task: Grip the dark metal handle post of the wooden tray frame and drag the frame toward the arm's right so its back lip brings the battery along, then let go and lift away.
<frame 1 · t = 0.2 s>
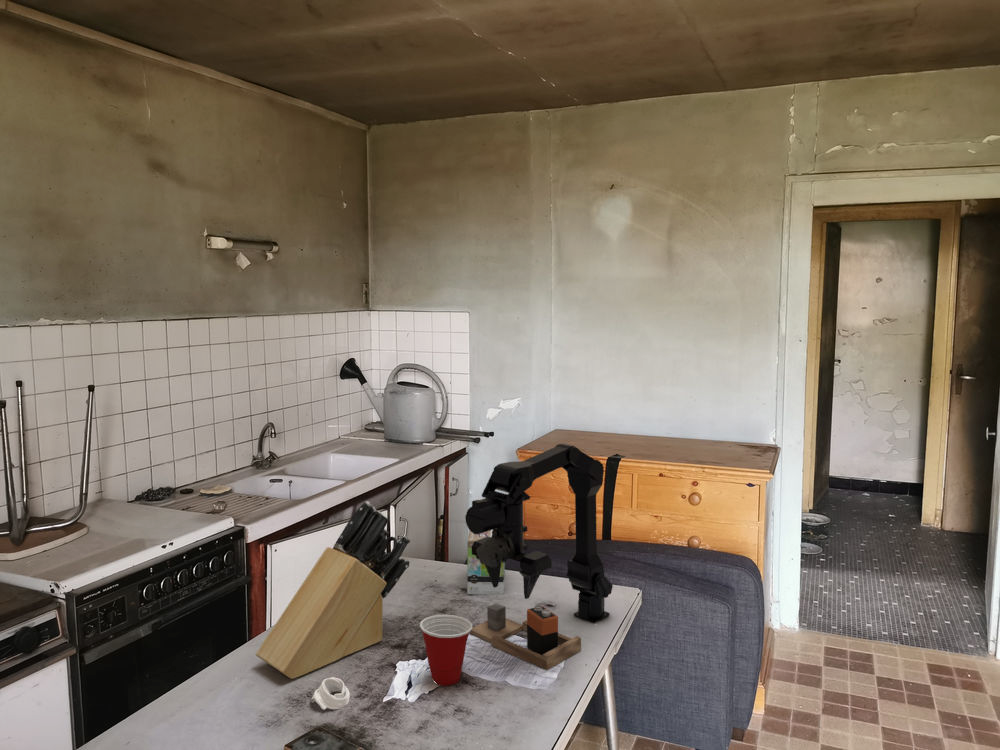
hand: (511, 592, 165), 14 cm above the table, fingers open, 9 cm apart
wooden tray frame: (522, 629, 171), point 3 cm above the table, slide at 0.0 cm
knife block: (339, 648, 170), on the table
white plastic ring: (332, 703, 148), on the table
tea box: (486, 585, 206), on the table
battery: (542, 652, 167), resting in wooden tray frame
plastic cup: (447, 679, 156), on the table
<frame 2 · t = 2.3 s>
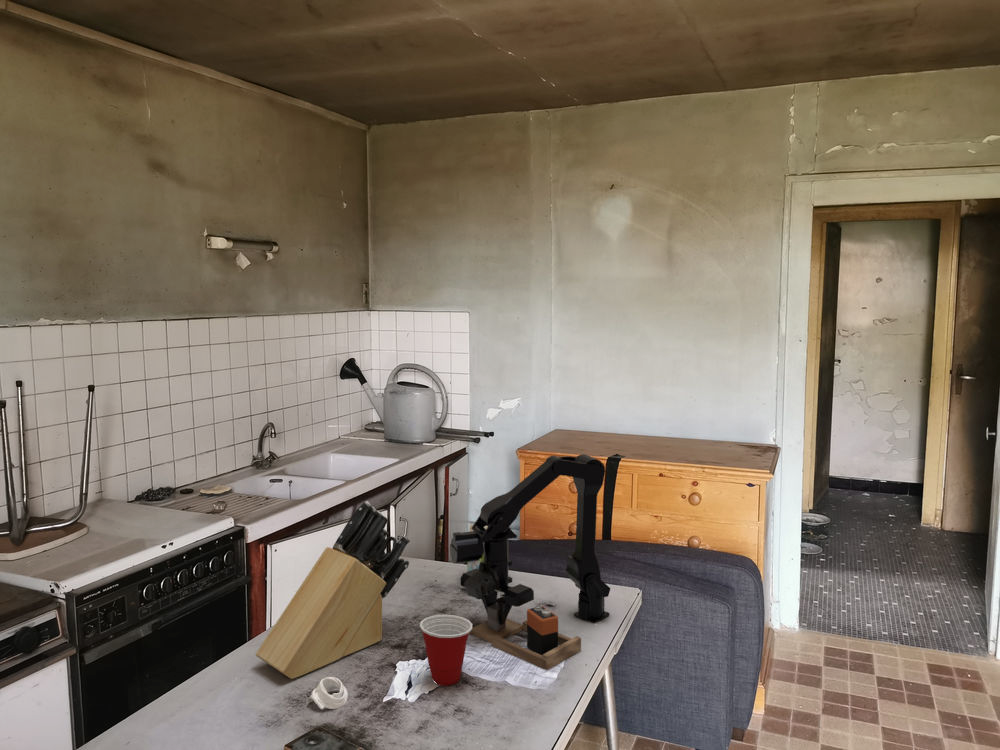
hand: (496, 622, 177), 3 cm above the table, fingers closed on wooden tray frame, 3 cm apart
wooden tray frame: (522, 629, 171), point 3 cm above the table, slide at 0.0 cm, touching gripper
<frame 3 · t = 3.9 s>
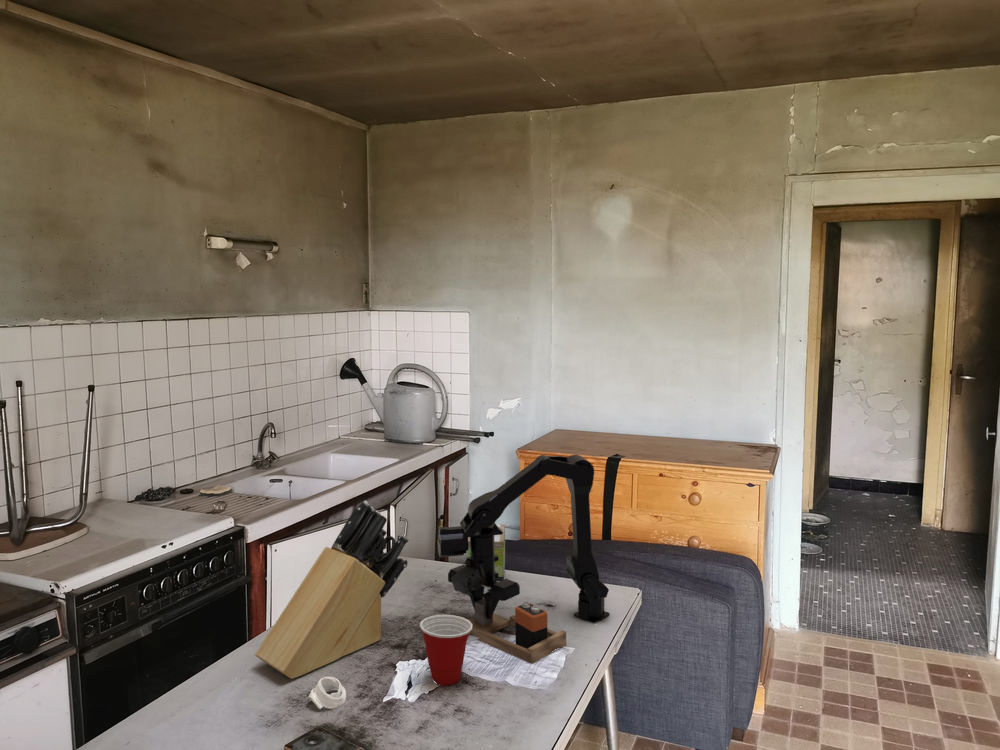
hand: (483, 616, 180), 2 cm above the table, fingers closed on wooden tray frame, 3 cm apart
wooden tray frame: (508, 624, 174), point 3 cm above the table, slide at 4.2 cm, touching battery, gripper
battery: (531, 649, 169), resting in wooden tray frame
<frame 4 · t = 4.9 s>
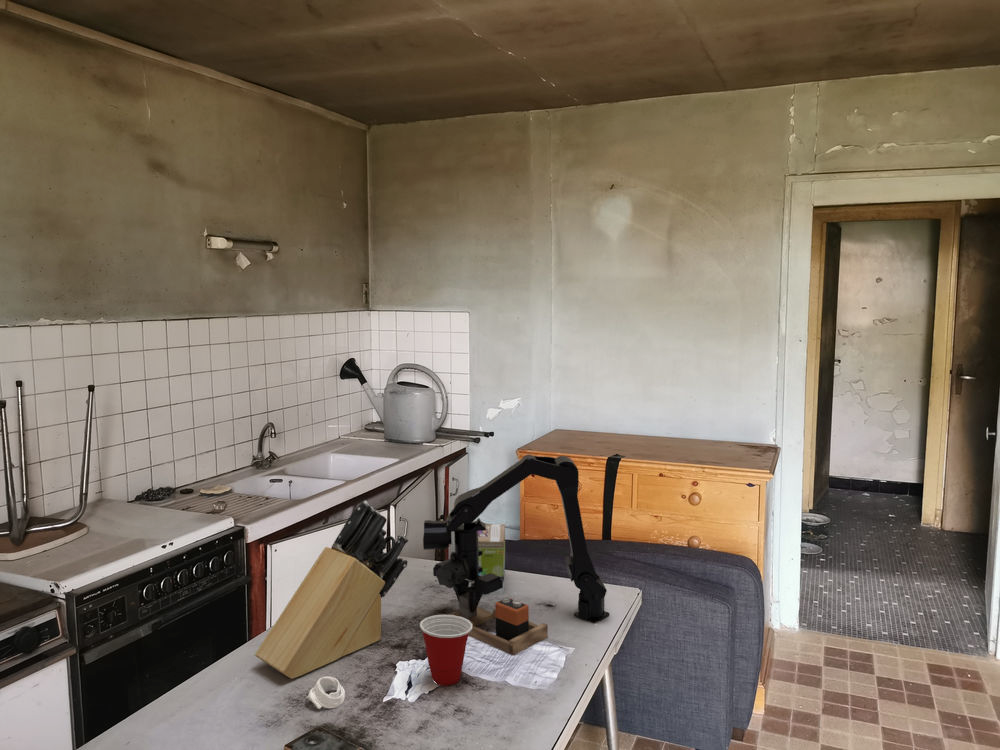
hand: (468, 610, 183), 2 cm above the table, fingers closed on wooden tray frame, 3 cm apart
wooden tray frame: (492, 617, 178), point 3 cm above the table, slide at 9.6 cm, touching gripper
battery: (512, 642, 172), resting in wooden tray frame
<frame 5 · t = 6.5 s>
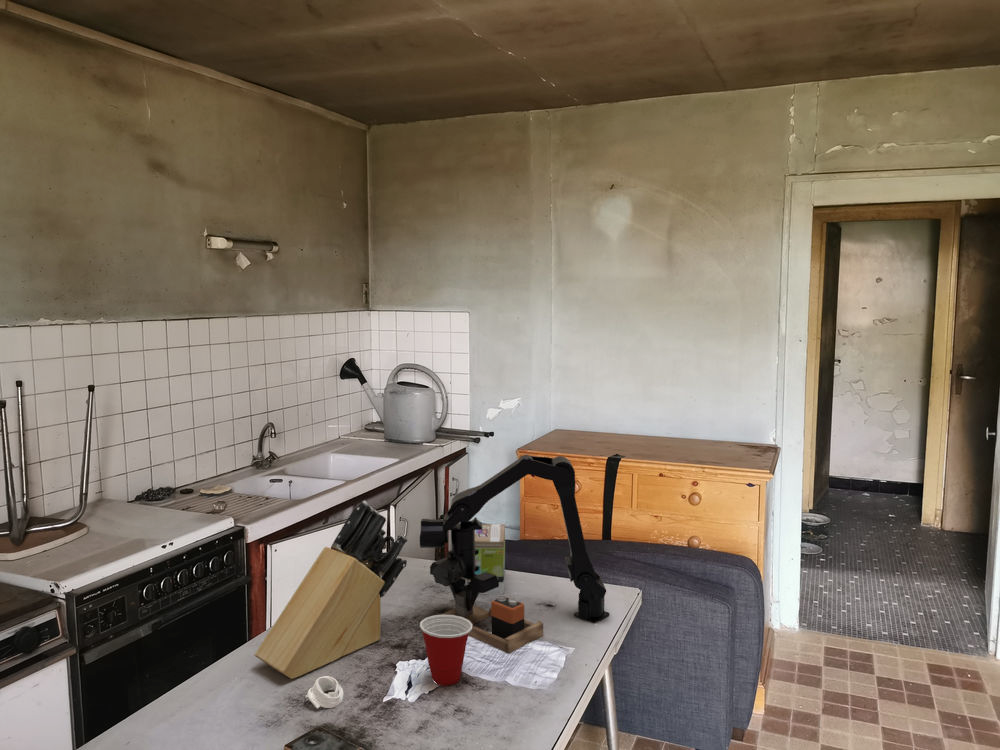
hand: (464, 608, 184), 3 cm above the table, fingers closed on wooden tray frame, 3 cm apart
wooden tray frame: (488, 615, 178), point 3 cm above the table, slide at 10.9 cm, touching gripper
battery: (507, 641, 173), resting in wooden tray frame
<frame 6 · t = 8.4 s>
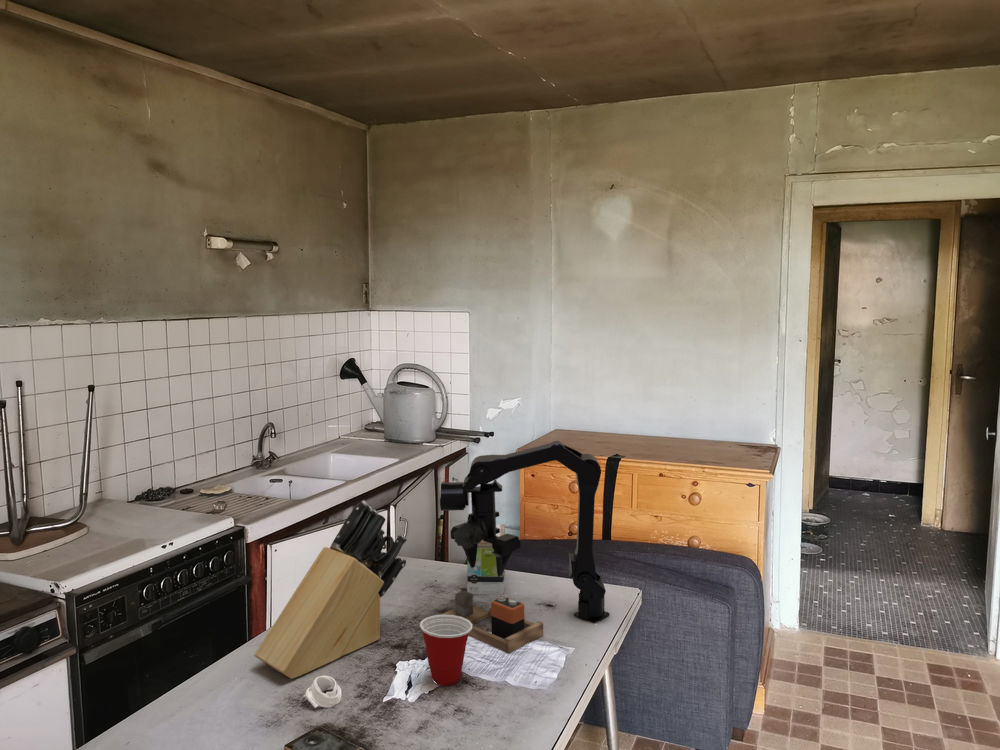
hand: (486, 571, 184), 11 cm above the table, fingers open, 9 cm apart
wooden tray frame: (488, 615, 178), point 3 cm above the table, slide at 10.9 cm
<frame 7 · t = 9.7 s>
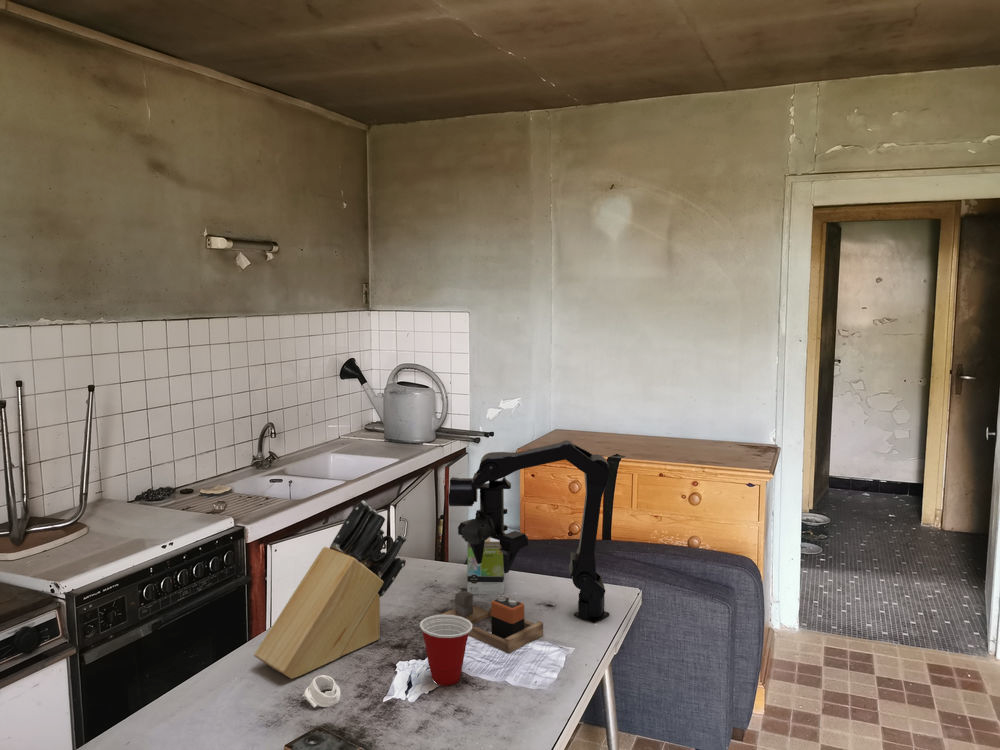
hand: (492, 568, 185), 12 cm above the table, fingers open, 9 cm apart
at the end: wooden tray frame slide at 10.9 cm; battery inside the target area (1.2 cm from its centre), resting in wooden tray frame; battery tilted 0° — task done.
